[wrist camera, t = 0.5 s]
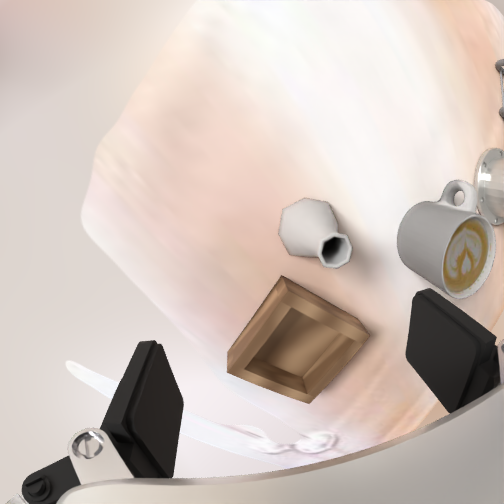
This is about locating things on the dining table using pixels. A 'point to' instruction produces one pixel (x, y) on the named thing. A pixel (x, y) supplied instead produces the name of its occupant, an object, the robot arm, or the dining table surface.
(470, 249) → the coffee mug
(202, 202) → the dining table surface
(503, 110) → the newton's cradle
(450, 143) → the dining table surface
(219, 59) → the dining table surface
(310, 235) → the flask
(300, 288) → the walnut well
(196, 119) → the dining table surface
